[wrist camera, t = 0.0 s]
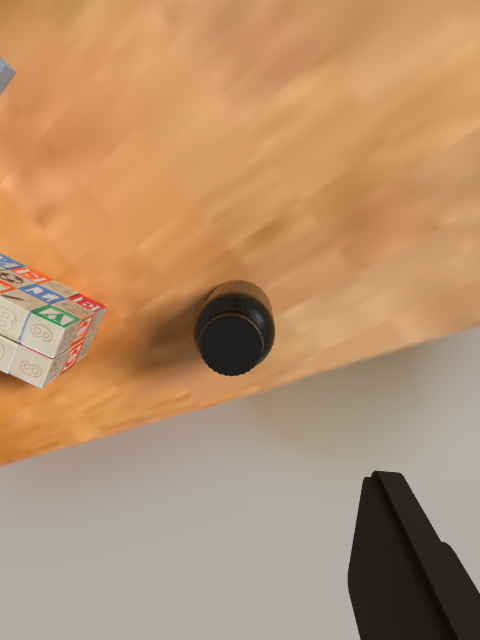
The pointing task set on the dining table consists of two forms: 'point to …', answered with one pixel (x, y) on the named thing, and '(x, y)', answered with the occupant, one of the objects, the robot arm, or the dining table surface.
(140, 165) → the dining table surface
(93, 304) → the stack of blocks
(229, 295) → the supplement bottle
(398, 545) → the robot arm
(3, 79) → the board
